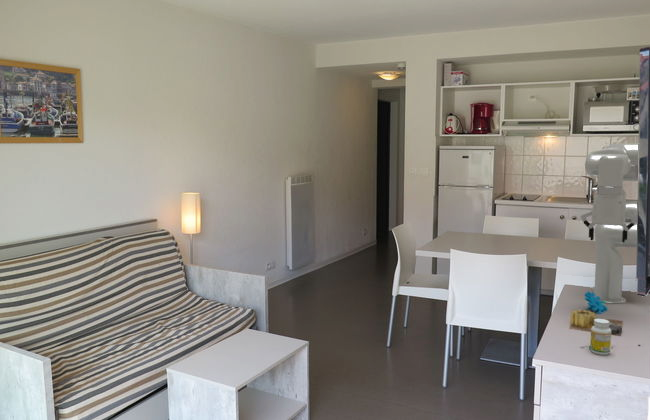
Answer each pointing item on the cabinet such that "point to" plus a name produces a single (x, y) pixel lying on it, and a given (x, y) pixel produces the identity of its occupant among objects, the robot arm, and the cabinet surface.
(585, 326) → the brass gear
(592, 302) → the gear
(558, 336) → the cabinet surface
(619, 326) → the gear board
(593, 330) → the supplement bottle
